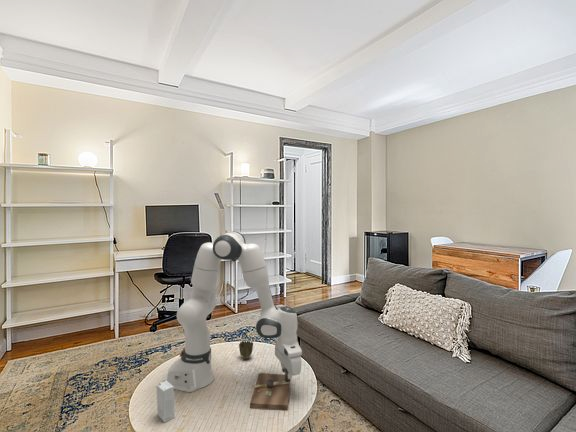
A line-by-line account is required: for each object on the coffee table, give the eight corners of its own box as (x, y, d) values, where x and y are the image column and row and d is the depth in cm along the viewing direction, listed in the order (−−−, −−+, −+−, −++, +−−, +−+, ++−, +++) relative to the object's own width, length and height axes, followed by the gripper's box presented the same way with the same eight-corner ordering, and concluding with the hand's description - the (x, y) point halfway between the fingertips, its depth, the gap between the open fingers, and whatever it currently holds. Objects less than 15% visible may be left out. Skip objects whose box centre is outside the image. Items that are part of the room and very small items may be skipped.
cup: (250, 362, 159) (250, 347, 158) (236, 361, 160) (236, 345, 160) (254, 355, 166) (255, 341, 166) (241, 354, 167) (241, 339, 167)
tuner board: (249, 408, 123) (250, 402, 123) (258, 377, 145) (258, 372, 145) (287, 410, 123) (287, 404, 122) (290, 379, 144) (290, 374, 144)
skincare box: (175, 417, 117) (175, 386, 117) (163, 423, 114) (163, 391, 114) (167, 409, 121) (167, 379, 121) (156, 415, 118) (156, 384, 118)
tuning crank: (254, 390, 132) (254, 376, 131) (253, 386, 134) (253, 372, 134) (291, 384, 136) (291, 371, 136) (289, 380, 139) (289, 367, 139)
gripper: (271, 336, 145) (271, 365, 146) (290, 355, 127) (289, 388, 127) (283, 333, 148) (283, 362, 149) (304, 352, 129) (303, 385, 130)
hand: (286, 374), depth 138 cm, fingers open, 4 cm apart
